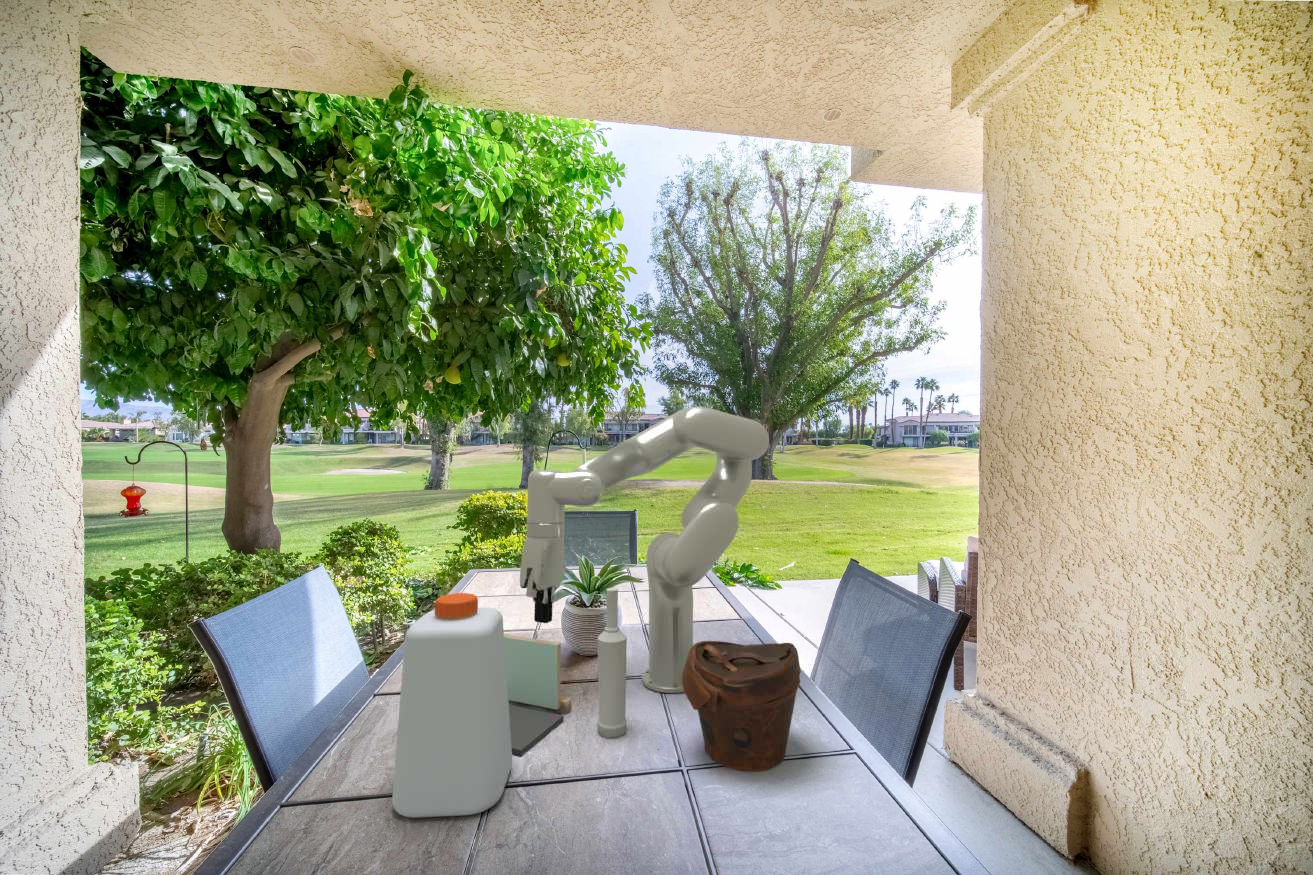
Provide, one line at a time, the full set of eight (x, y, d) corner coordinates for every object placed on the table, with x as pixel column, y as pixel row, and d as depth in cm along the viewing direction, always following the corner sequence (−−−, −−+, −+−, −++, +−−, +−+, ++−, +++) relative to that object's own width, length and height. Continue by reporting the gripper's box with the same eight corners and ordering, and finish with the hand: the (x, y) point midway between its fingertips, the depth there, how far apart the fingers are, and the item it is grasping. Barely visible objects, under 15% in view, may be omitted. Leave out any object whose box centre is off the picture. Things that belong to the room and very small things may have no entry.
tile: (499, 694, 113) (499, 633, 113) (560, 706, 108) (560, 642, 108) (495, 697, 112) (496, 635, 112) (557, 709, 106) (557, 644, 107)
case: (664, 736, 99) (665, 632, 99) (763, 716, 106) (764, 620, 106) (712, 796, 82) (713, 672, 82) (825, 768, 90) (826, 654, 90)
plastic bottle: (420, 762, 91) (421, 586, 92) (516, 758, 92) (516, 584, 93) (382, 824, 76) (383, 613, 77) (497, 818, 77) (497, 610, 78)
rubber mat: (563, 720, 105) (563, 715, 105) (521, 756, 93) (521, 750, 93) (484, 704, 112) (484, 699, 112) (435, 735, 100) (435, 729, 100)
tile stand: (571, 709, 109) (571, 698, 109) (561, 717, 106) (561, 705, 106) (502, 696, 115) (502, 685, 115) (491, 703, 112) (491, 691, 112)
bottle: (631, 726, 102) (630, 587, 103) (620, 740, 98) (619, 593, 98) (604, 722, 104) (604, 584, 105) (592, 735, 99) (592, 591, 100)
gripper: (550, 525, 124) (547, 610, 124) (507, 533, 111) (504, 629, 110) (580, 527, 122) (578, 614, 121) (540, 536, 108) (537, 634, 107)
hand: (543, 621), depth 116 cm, fingers closed
